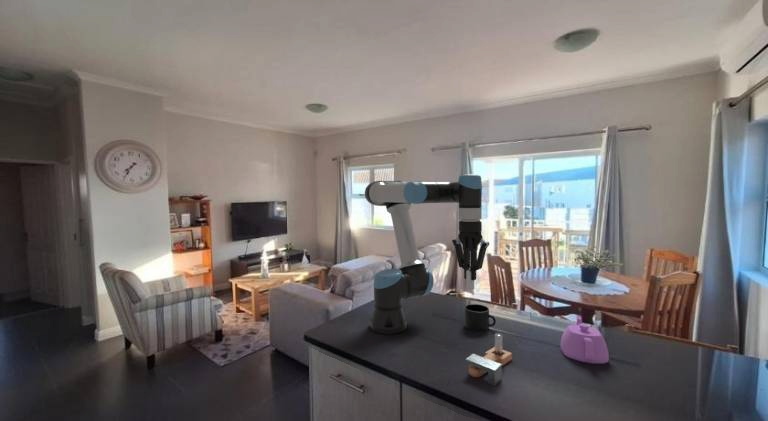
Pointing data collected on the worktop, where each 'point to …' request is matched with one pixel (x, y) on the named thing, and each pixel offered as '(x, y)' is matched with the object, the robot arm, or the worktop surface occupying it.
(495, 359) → the link
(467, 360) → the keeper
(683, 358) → the worktop surface
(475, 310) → the mug
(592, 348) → the teapot
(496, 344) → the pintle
